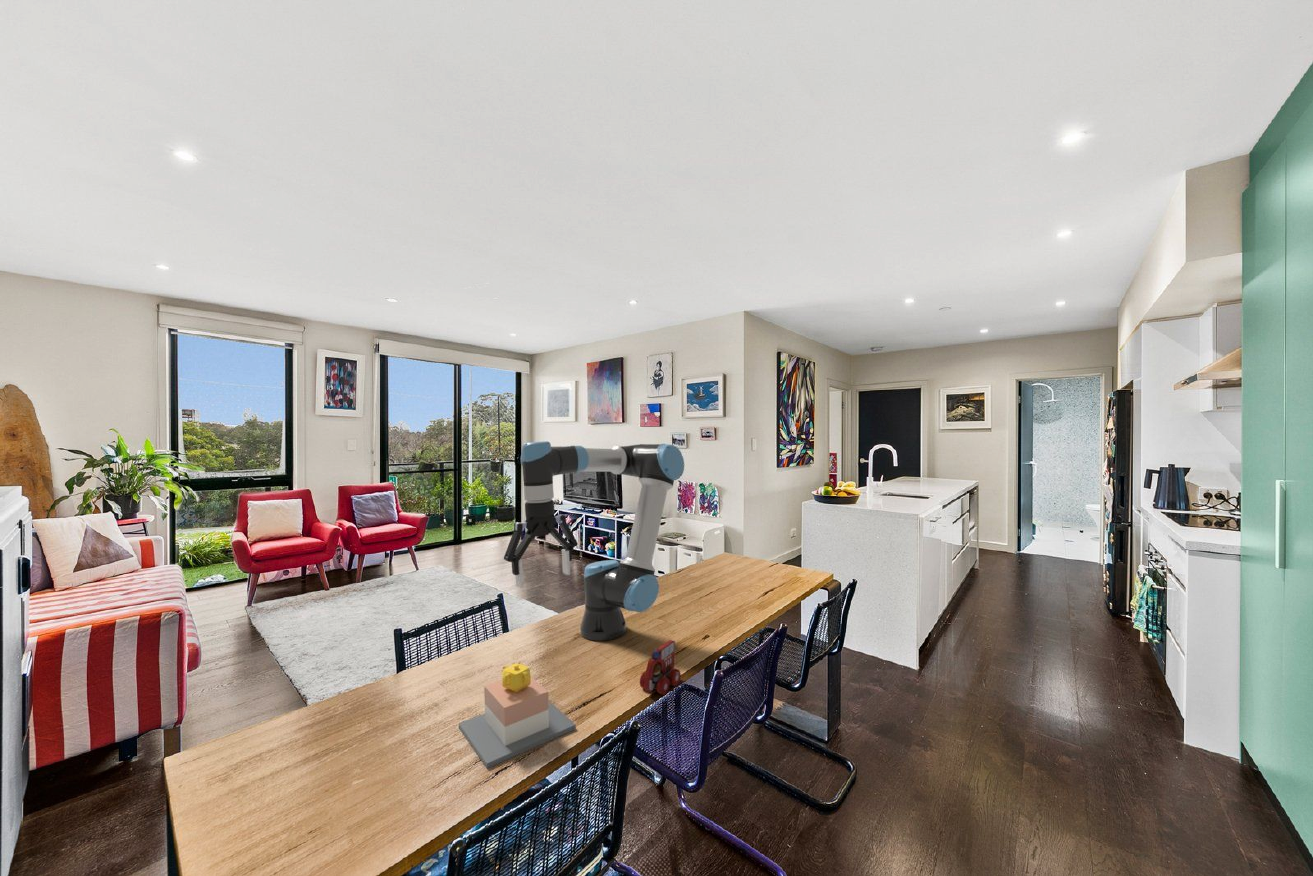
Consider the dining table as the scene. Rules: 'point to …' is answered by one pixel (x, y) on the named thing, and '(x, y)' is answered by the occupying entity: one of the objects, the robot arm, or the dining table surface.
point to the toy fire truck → (661, 670)
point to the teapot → (516, 677)
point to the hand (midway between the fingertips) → (544, 580)
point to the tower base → (498, 749)
